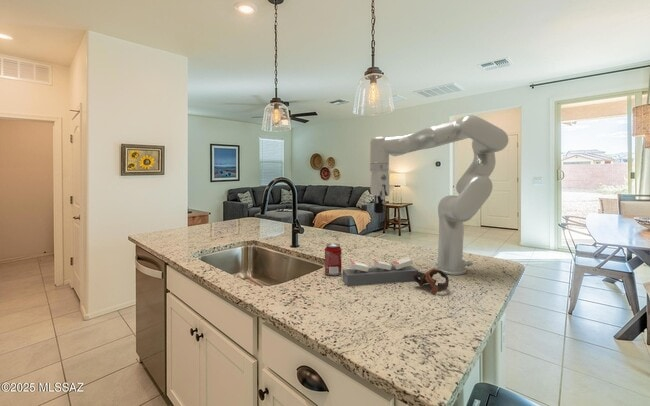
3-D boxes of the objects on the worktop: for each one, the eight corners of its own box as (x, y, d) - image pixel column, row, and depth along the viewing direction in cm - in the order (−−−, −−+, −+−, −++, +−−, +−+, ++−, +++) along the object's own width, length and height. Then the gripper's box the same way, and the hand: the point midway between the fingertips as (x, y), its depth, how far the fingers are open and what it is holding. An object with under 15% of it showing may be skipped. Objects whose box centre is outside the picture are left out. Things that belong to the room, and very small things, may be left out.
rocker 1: (364, 268, 116) (365, 263, 116) (367, 271, 112) (369, 266, 112) (347, 265, 115) (348, 260, 115) (350, 268, 111) (351, 263, 111)
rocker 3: (408, 261, 120) (407, 256, 119) (413, 264, 116) (412, 259, 115) (392, 266, 118) (391, 262, 118) (396, 269, 114) (395, 265, 114)
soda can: (340, 276, 119) (340, 247, 118) (323, 275, 121) (323, 246, 120) (342, 271, 126) (342, 243, 125) (326, 270, 127) (326, 242, 126)
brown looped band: (442, 285, 111) (450, 270, 107) (443, 306, 104) (452, 290, 99) (410, 275, 113) (416, 260, 109) (408, 294, 106) (415, 279, 101)
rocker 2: (386, 267, 118) (387, 262, 118) (390, 270, 114) (391, 265, 114) (369, 263, 116) (371, 258, 116) (373, 266, 112) (374, 261, 112)
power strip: (424, 273, 123) (425, 262, 123) (434, 279, 116) (434, 267, 116) (342, 279, 116) (342, 267, 116) (347, 286, 110) (347, 273, 109)
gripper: (395, 167, 116) (394, 215, 118) (381, 168, 130) (380, 210, 132) (377, 167, 114) (376, 215, 116) (364, 168, 129) (364, 210, 131)
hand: (378, 212), depth 124 cm, fingers closed
